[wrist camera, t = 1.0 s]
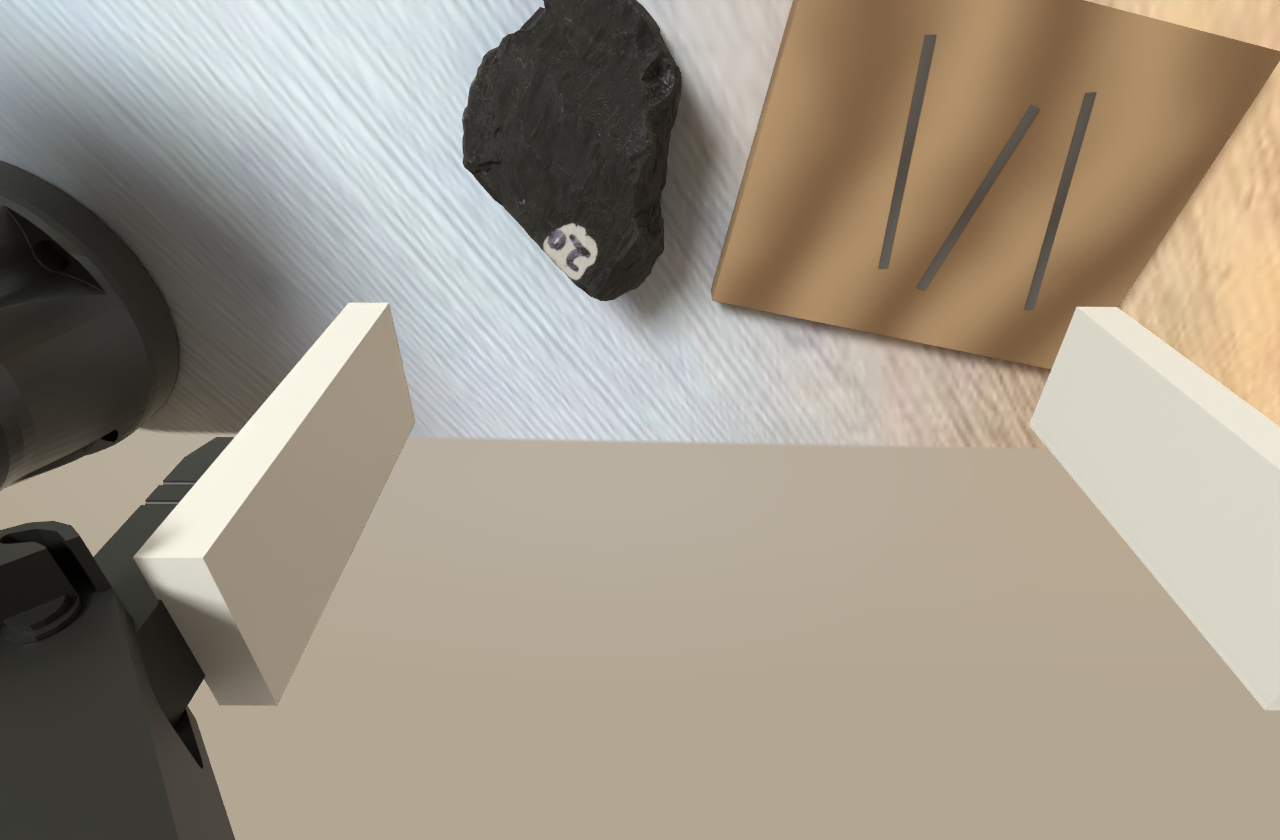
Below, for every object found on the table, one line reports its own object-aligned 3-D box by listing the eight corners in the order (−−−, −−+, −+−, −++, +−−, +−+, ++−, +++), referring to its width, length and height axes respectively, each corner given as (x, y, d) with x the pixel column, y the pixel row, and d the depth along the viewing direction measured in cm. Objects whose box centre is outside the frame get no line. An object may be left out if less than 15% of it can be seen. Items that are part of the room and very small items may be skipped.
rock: (619, 288, 32) (613, 345, 27) (444, 125, 28) (400, 157, 23) (767, 148, 29) (790, 185, 24) (589, -61, 25) (573, -68, 20)
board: (711, 290, 32) (712, 301, 31) (812, -68, 24) (819, -69, 23) (1061, 361, 34) (1074, 374, 33) (1260, 49, 26) (1286, 52, 25)
